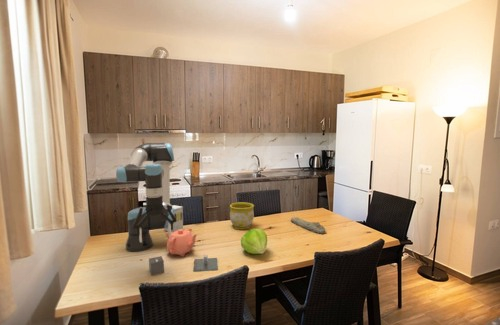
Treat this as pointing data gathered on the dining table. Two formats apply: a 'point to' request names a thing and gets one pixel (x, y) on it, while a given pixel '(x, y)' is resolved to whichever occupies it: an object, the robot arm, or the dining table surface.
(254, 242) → the lettuce
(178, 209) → the supplement box
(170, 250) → the teapot
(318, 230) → the elongated rock
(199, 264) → the shaft post
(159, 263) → the gray cube
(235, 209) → the flowerpot
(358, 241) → the dining table surface
